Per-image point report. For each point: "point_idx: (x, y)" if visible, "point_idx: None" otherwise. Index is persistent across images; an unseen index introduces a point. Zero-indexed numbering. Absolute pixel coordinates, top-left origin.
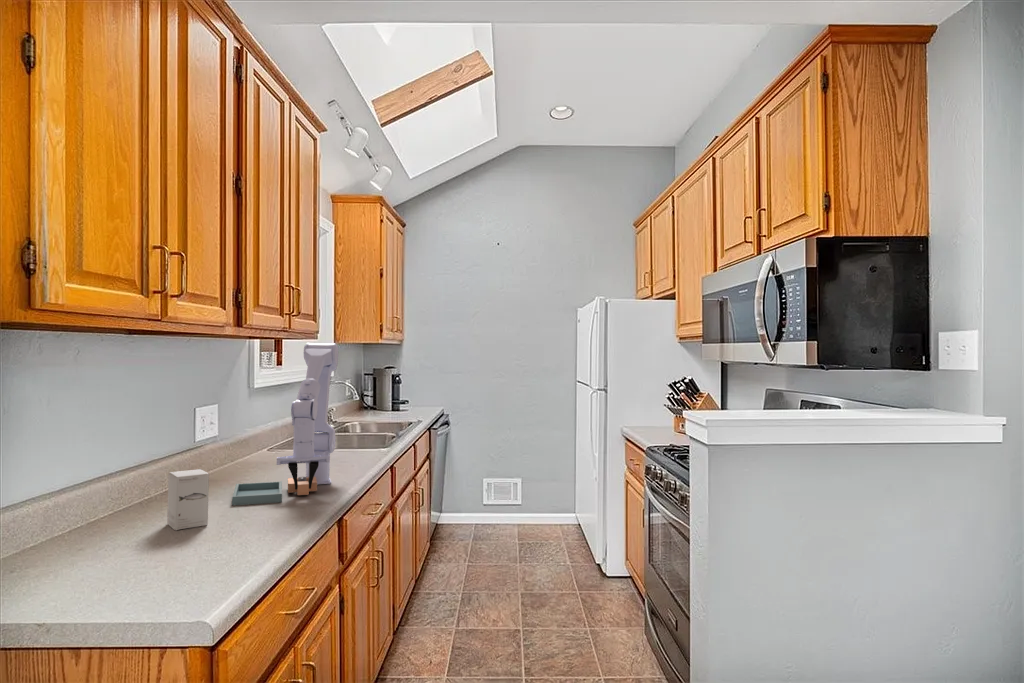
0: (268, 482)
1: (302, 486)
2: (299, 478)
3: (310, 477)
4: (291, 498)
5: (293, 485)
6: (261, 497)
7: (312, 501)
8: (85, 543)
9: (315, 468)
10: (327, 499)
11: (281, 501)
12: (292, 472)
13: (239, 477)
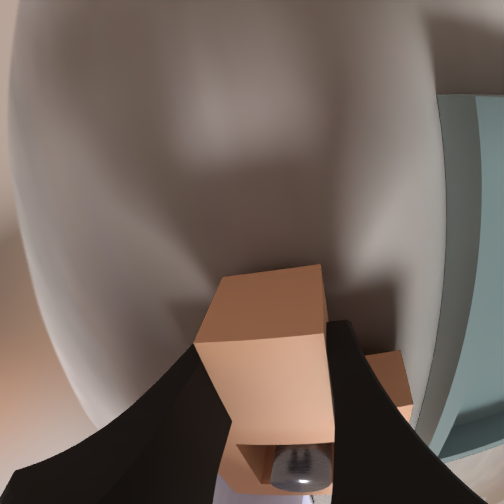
0: (483, 447)
1: (267, 321)
2: (320, 474)
3: (157, 409)
4: (370, 231)
5: None
6: None
7: (153, 102)
8: None
9: (38, 474)
10: (70, 175)
11: (442, 94)
12: (426, 476)
13: (485, 490)
